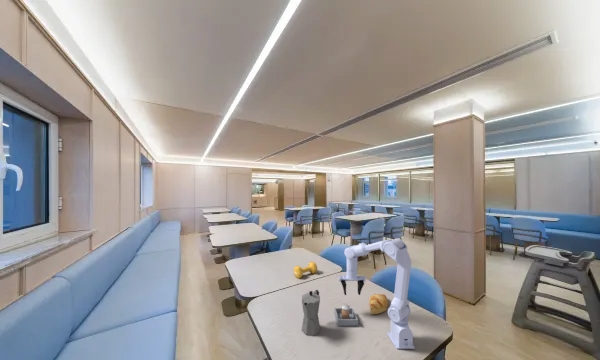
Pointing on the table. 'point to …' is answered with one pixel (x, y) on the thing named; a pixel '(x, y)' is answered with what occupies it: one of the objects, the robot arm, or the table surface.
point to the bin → (345, 322)
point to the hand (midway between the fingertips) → (352, 294)
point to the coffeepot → (311, 313)
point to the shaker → (345, 311)
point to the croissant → (378, 303)
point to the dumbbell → (305, 270)
